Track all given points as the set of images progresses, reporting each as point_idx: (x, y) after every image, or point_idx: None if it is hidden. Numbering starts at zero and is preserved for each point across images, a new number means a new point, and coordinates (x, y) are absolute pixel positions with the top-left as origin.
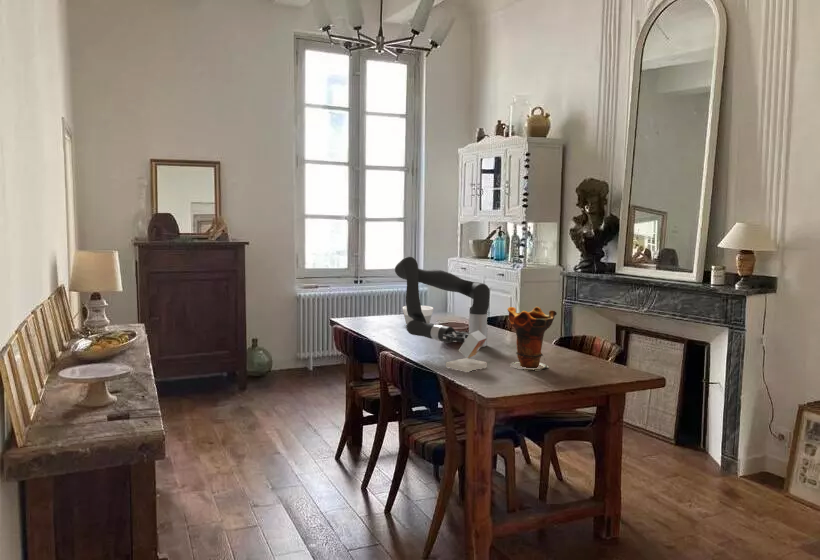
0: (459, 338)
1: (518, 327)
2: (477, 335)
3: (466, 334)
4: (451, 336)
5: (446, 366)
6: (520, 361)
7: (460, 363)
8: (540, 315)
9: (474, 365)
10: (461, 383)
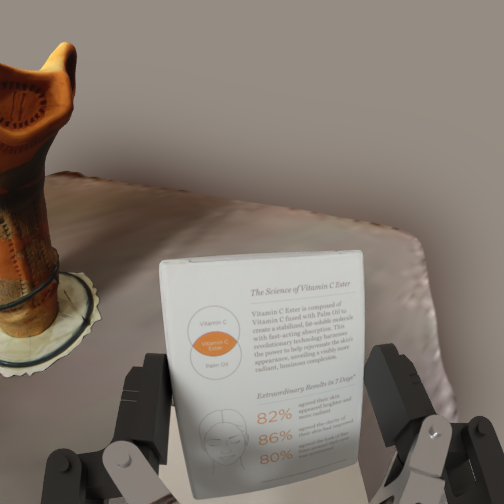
0: (416, 375)
1: (44, 142)
2: (267, 253)
3: (163, 483)
4: (486, 429)
5: None
6: (47, 310)
7: (314, 482)
8: None
9: None
10: (433, 319)
